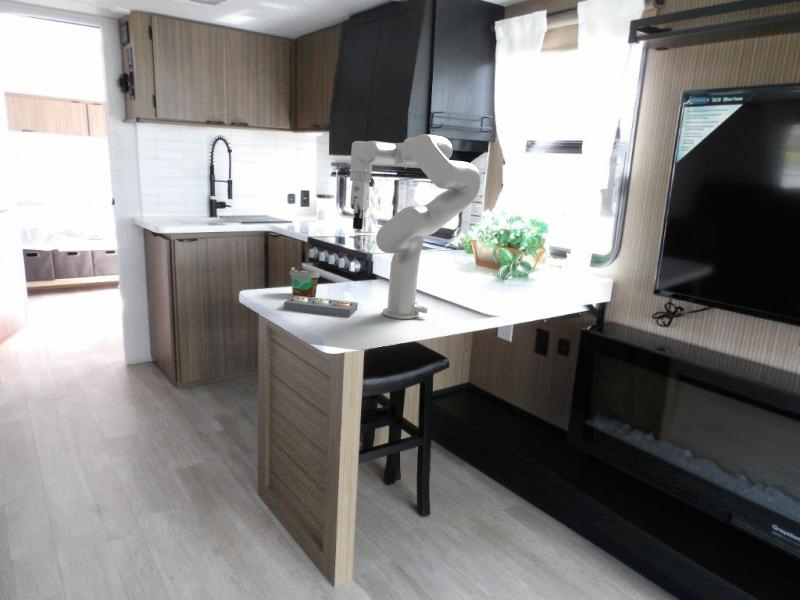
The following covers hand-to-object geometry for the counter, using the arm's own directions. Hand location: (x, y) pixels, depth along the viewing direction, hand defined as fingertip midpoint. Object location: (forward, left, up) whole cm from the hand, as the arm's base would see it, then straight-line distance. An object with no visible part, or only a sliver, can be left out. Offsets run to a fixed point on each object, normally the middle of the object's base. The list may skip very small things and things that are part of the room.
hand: (357, 228), depth 204 cm
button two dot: (+14, +18, -27) cm, 35 cm away
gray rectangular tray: (+7, +18, -27) cm, 33 cm away
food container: (+20, +2, -27) cm, 34 cm away
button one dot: (+7, +18, -27) cm, 33 cm away
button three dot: (-1, +17, -27) cm, 32 cm away
